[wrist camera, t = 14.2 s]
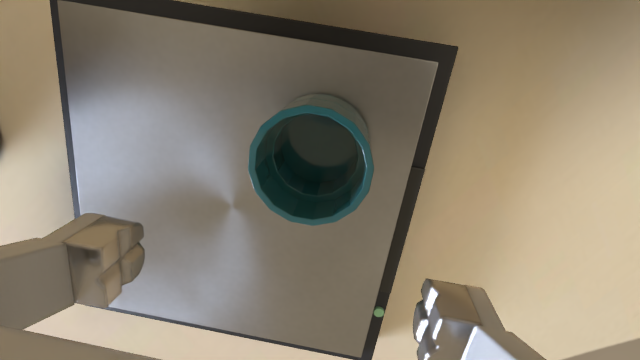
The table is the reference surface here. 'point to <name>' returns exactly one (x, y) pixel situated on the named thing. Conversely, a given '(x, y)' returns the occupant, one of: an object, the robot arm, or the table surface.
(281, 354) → the table surface
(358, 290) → the scale
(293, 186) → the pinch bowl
